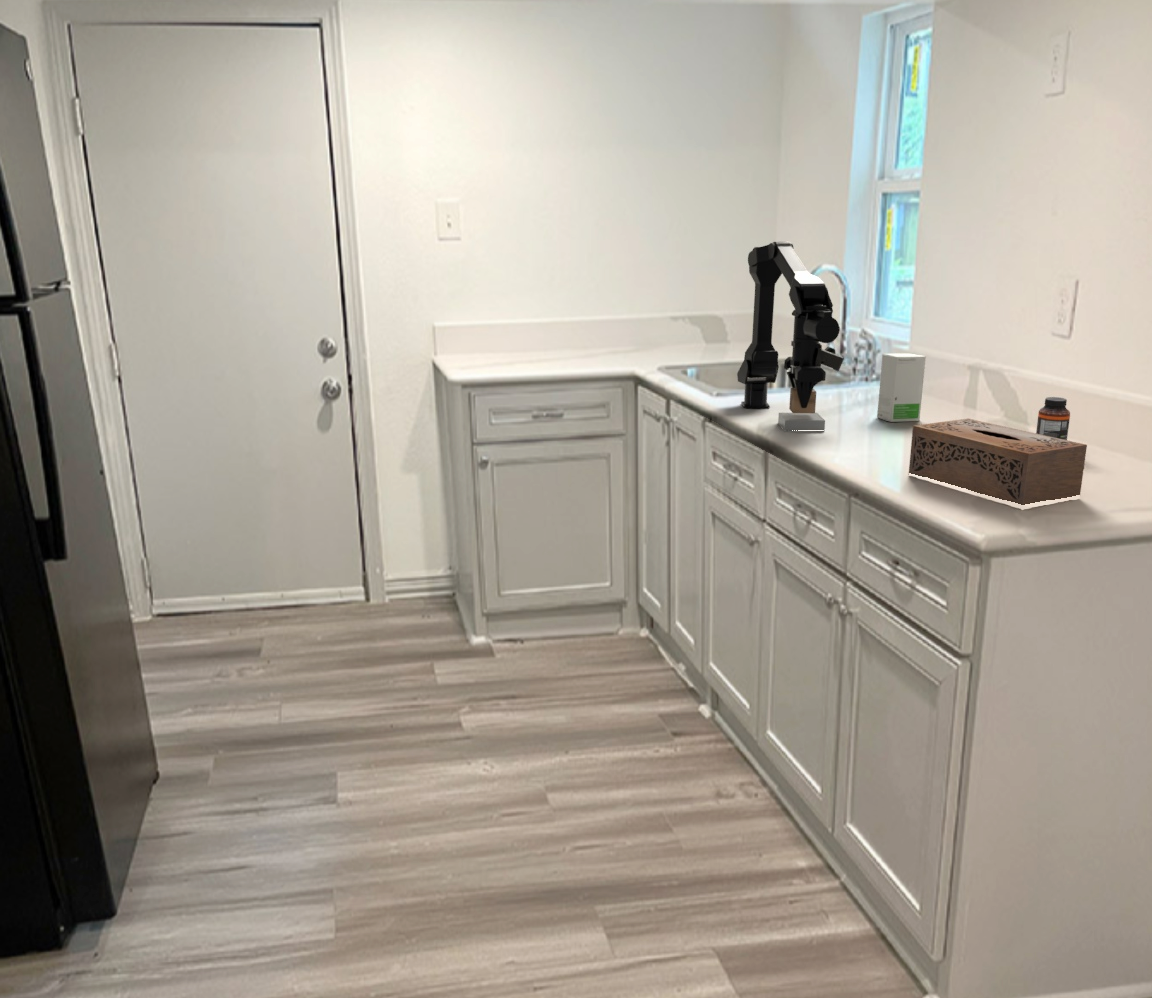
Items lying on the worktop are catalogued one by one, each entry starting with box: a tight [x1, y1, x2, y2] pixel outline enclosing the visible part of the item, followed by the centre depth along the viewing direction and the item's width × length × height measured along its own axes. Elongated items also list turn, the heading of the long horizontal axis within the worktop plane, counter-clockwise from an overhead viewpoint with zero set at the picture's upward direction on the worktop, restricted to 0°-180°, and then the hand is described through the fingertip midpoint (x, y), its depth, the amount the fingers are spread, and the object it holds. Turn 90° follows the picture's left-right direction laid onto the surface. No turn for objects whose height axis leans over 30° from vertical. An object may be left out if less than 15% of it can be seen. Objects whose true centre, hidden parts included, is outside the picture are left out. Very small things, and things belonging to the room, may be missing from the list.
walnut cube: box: [789, 387, 817, 413], centre depth 234 cm, size 5×5×5 cm
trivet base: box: [777, 412, 826, 432], centre depth 235 cm, size 9×9×3 cm
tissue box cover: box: [908, 418, 1088, 505], centre depth 184 cm, size 26×14×10 cm, turn 27°
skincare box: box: [876, 353, 927, 423], centre depth 242 cm, size 8×7×16 cm
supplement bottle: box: [1035, 396, 1071, 440], centre depth 209 cm, size 6×6×11 cm
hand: (802, 405), depth 234 cm, fingers closed on walnut cube, 5 cm apart
